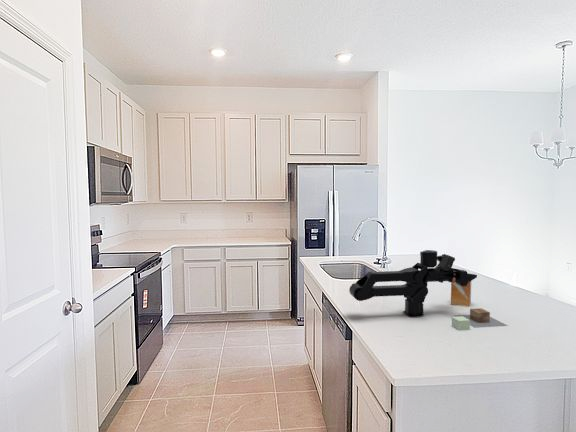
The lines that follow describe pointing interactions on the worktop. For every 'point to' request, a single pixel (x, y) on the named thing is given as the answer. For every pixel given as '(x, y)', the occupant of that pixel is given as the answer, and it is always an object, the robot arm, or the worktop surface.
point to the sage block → (461, 323)
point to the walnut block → (479, 315)
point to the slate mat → (492, 323)
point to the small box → (460, 294)
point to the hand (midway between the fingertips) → (469, 273)
